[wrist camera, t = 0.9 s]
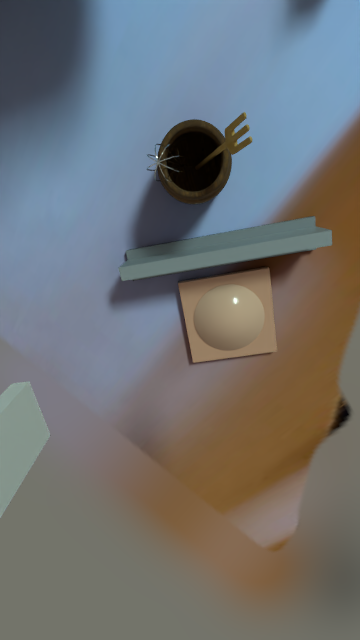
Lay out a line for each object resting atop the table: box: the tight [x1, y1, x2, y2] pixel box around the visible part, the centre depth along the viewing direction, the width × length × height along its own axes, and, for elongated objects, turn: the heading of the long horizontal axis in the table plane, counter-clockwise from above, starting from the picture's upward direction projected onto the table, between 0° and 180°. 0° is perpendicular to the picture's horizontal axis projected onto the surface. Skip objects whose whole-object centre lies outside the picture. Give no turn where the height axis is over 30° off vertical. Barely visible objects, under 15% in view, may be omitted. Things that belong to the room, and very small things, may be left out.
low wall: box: [119, 216, 332, 281], centre depth 29 cm, size 3×18×4 cm, turn 101°
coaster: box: [178, 267, 277, 363], centre depth 33 cm, size 9×9×1 cm
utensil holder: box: [147, 112, 252, 204], centre depth 24 cm, size 6×6×12 cm
